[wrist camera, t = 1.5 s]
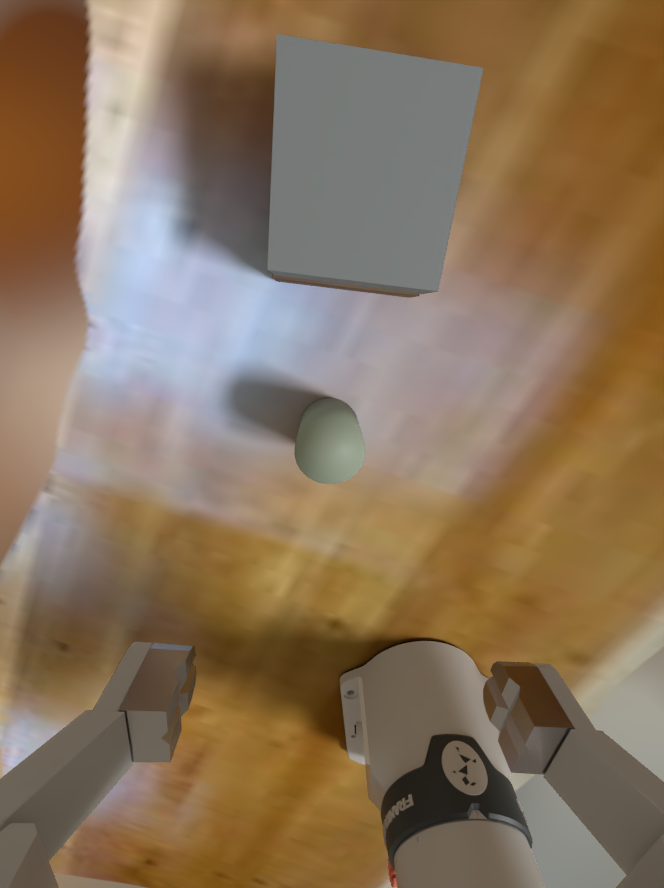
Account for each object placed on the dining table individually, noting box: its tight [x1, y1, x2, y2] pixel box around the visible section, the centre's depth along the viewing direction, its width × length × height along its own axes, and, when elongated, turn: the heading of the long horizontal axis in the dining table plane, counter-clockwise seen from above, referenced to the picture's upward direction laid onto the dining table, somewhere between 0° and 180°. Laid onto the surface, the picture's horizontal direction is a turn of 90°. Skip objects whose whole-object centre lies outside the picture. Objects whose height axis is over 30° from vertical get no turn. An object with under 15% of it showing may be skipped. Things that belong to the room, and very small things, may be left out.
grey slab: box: [267, 34, 483, 294], centre depth 20 cm, size 10×10×4 cm
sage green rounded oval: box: [295, 398, 366, 484], centre depth 27 cm, size 5×5×6 cm
